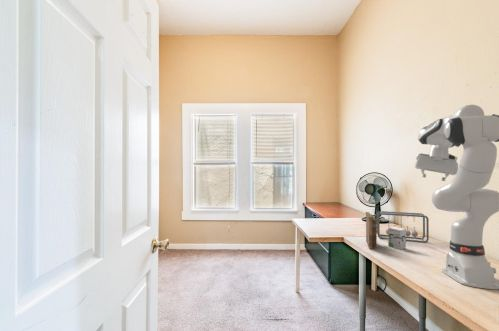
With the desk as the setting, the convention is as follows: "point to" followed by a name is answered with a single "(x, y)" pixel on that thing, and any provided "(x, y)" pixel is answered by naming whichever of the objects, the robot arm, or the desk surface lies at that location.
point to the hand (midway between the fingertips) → (433, 179)
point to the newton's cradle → (401, 225)
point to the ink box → (397, 238)
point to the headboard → (371, 231)
